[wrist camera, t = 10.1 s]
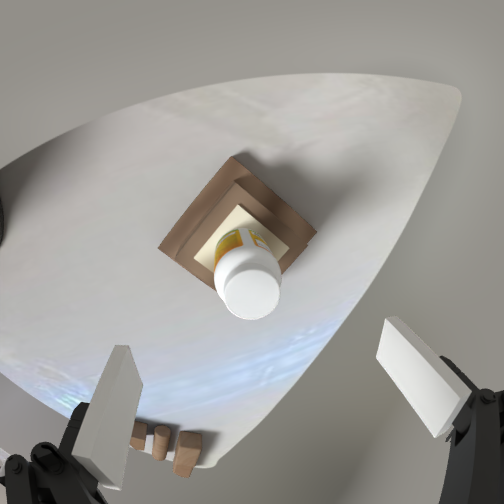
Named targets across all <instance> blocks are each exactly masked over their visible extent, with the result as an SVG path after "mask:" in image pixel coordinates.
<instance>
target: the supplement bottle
mask: <svg viewBox="0 0 504 504" xmlns="http://www.w3.org/2000/svg"><path fill="white" fill-rule="evenodd" d="M281 281H282V275H281V269H280V266H279V264H278V262H277V260H276V258H275V257H274V255H273V253H272V252H271V250H270V248H269V247H268V245H267V244H266V242H265V240H264V239H263V238H262V237H261V236H260V235H259V234H258V233H257V232H255V231H253V230H251V229H247V228H237V229H233V230H231V231H229V232H227V233H226V234H224V235H223V236H222V237H221V238H220V240H219V241H218V243H217V245H216V248H215V255H214V282H215V287H216V290H217V292H218V294H219V296H220V297H221V299H222V300H223V301H224V302H225V304H226V306H227V308H228V309H229V310H230V312H232V313H233V314H234V315H235V316H237V317H239V318H242V319H247V320H254V319H259V318H262V317H265V316H266V315H268V314H269V313H271V312H272V311H273V310H274V309H275V307H276V306H277V304H278V302H279V299H280V286H281Z"/></svg>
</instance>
